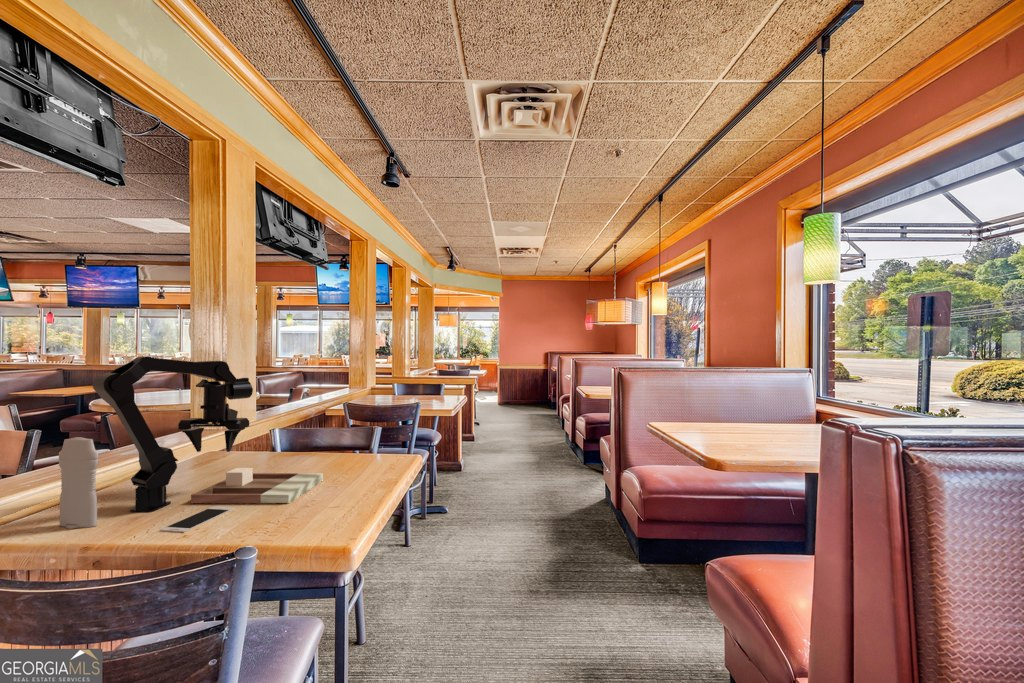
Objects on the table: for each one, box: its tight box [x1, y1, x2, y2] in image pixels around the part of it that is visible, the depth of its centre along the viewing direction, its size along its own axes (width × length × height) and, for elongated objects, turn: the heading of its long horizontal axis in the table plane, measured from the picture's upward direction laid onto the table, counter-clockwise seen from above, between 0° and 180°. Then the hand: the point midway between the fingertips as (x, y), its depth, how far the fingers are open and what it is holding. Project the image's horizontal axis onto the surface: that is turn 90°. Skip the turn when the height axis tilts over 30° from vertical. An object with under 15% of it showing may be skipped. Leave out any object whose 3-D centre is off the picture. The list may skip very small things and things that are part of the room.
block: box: [225, 467, 254, 486], centre depth 133 cm, size 5×5×4 cm
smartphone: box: [160, 505, 236, 533], centre depth 112 cm, size 7×16×1 cm, turn 171°
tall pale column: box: [58, 436, 99, 530], centre depth 109 cm, size 11×4×22 cm, turn 84°
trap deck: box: [190, 472, 324, 504], centre depth 133 cm, size 21×28×2 cm
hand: (213, 451), depth 135 cm, fingers open, 9 cm apart
